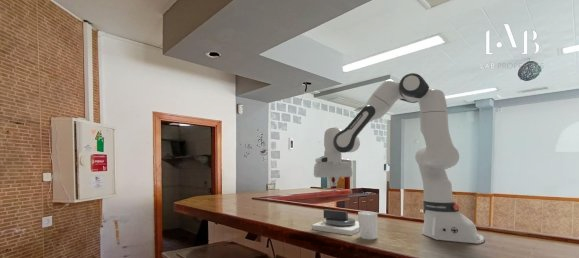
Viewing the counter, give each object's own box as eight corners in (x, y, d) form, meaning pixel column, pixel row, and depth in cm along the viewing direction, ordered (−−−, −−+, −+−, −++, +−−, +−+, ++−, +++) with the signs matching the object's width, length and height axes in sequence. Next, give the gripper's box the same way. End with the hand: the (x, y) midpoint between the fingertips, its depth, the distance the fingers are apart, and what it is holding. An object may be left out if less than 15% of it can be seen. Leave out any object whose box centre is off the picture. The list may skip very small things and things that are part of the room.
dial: (359, 222, 136) (359, 210, 137) (347, 227, 125) (347, 215, 125) (331, 218, 145) (331, 207, 146) (317, 223, 134) (317, 211, 134)
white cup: (379, 236, 119) (378, 212, 120) (377, 240, 112) (376, 215, 113) (360, 234, 122) (359, 210, 123) (357, 238, 115) (356, 213, 116)
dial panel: (368, 226, 136) (368, 222, 137) (351, 235, 120) (351, 230, 121) (331, 221, 148) (331, 217, 148) (311, 229, 132) (311, 224, 132)
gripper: (348, 159, 151) (349, 185, 149) (312, 159, 146) (312, 186, 144) (353, 158, 145) (354, 186, 143) (316, 159, 140) (317, 187, 138)
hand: (333, 186), depth 144 cm, fingers closed
